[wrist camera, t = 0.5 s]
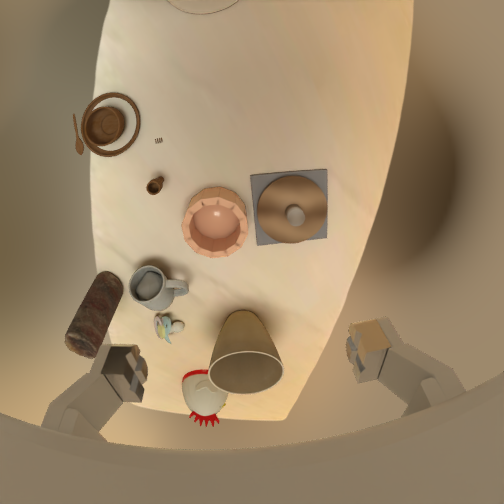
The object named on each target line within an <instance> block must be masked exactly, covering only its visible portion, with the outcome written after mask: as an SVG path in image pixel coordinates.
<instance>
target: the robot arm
mask: <svg viewBox="0 0 504 504" xmlns="http://www.w3.org/2000/svg"><path fill="white" fill-rule="evenodd" d="M167 1H169V2H170V3H171V4H172V5H173V6H175V7H176V8H178V9H180V10H182V11H185V12H188V13H194V14H207V13H213V12H217V11H220V10H223V9H225V8H228V7H229V6H231V5H233V4H234V3H235V2H237V1H238V0H167ZM348 331H349V334H350V336H349V337H348V339H347V342H346V351H347V356H348V359H349V362H350V363H352V364H353V365H354V367H353V372H354V375H355V378H356V380H357V383H362V382H367V381H371V380H376V379H378V381H379V382H381V383H382V384H383V385H384V386H386V387H387V388H388V389H389V390H391V391H392V392H393V393H394V394H395V395H397V396H398V397H399V398H400V399H402V400H403V401H404V402H405V403H407V404H408V407H407V408H406V410H405V411H404V413H403V415H402V416H401V418H399V419H396V420H393V421H389V422H386V423H383V424H380V425H376V426H373V427H369V428H366V429H362V430H358V431H354V432H350V433H345V434H341V435H336V436H332V437H327V438H322V439H316V440H311V441H305V442H298V443H292V444H285V445H276V446H267V447H256V448H242V449H220V450H187V449H165V448H151V447H141V446H131V445H124V444H116V443H110V442H107V440H106V439H105V438H104V437H103V436H102V435H101V434H100V433H99V431H100V430H101V428H102V427H103V426H104V425H105V424H106V423H107V421H108V420H109V419H110V418H111V417H112V415H113V414H114V413H115V412H116V411H117V409H118V408H119V407H120V406H121V405H122V404H123V402H142V398H143V394H144V388H143V386H142V384H143V383H144V382H146V381H147V376H148V367H147V364H146V361H145V359H144V358H143V357H141V356H140V355H139V354H140V349H139V347H138V346H137V345H135V344H102V345H101V346H100V348H99V351H98V353H97V355H96V358H95V360H94V363H93V365H92V368H91V370H90V373H86V374H85V375H84V376H82V377H81V378H80V379H79V380H77V381H76V382H75V383H74V384H73V385H71V386H70V387H69V388H68V389H67V390H65V391H64V392H63V393H62V394H61V395H59V396H58V397H57V398H56V399H55V400H53V401H52V402H51V403H50V405H49V407H48V409H47V412H46V415H45V417H44V420H43V423H42V425H41V427H40V426H36V425H33V424H30V423H27V422H24V421H21V420H18V419H16V418H13V417H10V416H8V415H5V414H2V413H0V504H504V371H503V372H502V373H500V374H498V375H497V376H495V377H493V378H491V379H489V380H487V381H486V382H484V383H482V384H480V385H478V386H476V387H474V388H472V389H470V390H468V391H466V390H465V389H464V387H463V385H462V383H461V382H460V380H459V378H458V377H457V375H456V373H455V372H454V370H453V368H451V367H449V366H447V365H445V364H444V363H442V362H440V361H438V360H436V359H434V358H433V357H431V356H429V355H427V354H426V353H424V352H422V351H420V350H418V349H416V348H415V347H413V346H411V345H409V344H404V343H403V341H402V340H401V338H400V336H399V335H398V333H397V331H396V330H395V328H394V326H393V325H392V323H391V321H390V320H389V318H388V317H386V316H385V317H381V318H376V319H371V320H366V321H361V322H356V323H351V324H350V326H349V330H348Z"/></svg>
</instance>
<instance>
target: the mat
mask: <svg viewBox="0 0 504 504" xmlns="http://www.w3.org/2000/svg"><path fill="white" fill-rule="evenodd" d="M287 176H300V177H304V178H307V179H309V180H311V181H313V182H314V183H315V184H316V185H317V186H318V187H319V188H320V189H321V190H322V192H323V193H324V195H325V198H326V201H328V194H327V169H319V170H304V171H290V172H278V173H267V174H257V175H250V177H251V187H252V196H253V206H254V216H255V226H256V236H257V246H259V245H268V244H277V243H282V242H279V241H276V240H274V239H272V238H271V237H269V236H268V235H267V234H266V233H265V232H264V231H263V229H262V228H261V226H260V224H259V220H258V215H257V206H258V201H259V199H260V196H261V194H262V193H263V191H264V190H265V189H266V188H267V187H268V186H269V185H270V184H271V183H272V182H274V181H276V180H278V179H280V178H283V177H287ZM323 238H327V215H326V219H325V222H324V224H323V225H322V227H321V228H320V230H319V231H318V232H317V233H316V234H315V235H313V236H312V237H311V238H309V239H307V240H314V239H323Z"/></svg>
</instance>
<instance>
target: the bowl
mask: <svg viewBox="0 0 504 504" xmlns="http://www.w3.org/2000/svg"><path fill="white" fill-rule="evenodd" d="M182 230H183V234H184V239H185V241H186V242H187V243H188V245H189V246H190V247H191V248H192V249H193V250H194V251H195V252H196V253H199V254H201V255H204V256H207V257H210V258H217V257H226V256H229V255H230V254H232V253H233V252H235V251H236V250H238V249H240V248H241V247H242V245H243V243H244V241H245V239H246V237H247V235H248V226H247V217H246V208H245V204H244V203H243V202H242V200H241V199H240V198H239V196H238V195H237V194H236V193H235V192H233V191H230V190H228V189H225V188H222V187H214V188H207V189H203V190H202V191H201V192H200V193H198V194H197V195H196V196H194V197H193V198H192V199H191V202H190V204H189V207H188V209H187V212H186V214H185V217H184V220H183V222H182Z"/></svg>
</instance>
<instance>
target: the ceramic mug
mask: <svg viewBox="0 0 504 504" xmlns="http://www.w3.org/2000/svg"><path fill="white" fill-rule="evenodd" d="M174 287H176V288H181V289H175V290H174V289H173V288H174ZM188 291H189V286H188V283H187V282H185V281H182V280H168V279H167V278H166V276H165V275H164V273H163V272H162V271H161V270H160V269H159V268H157V267H155V266H151V265H147V266H143V267H141V268H139V269H138V270H137V271H136V272H135V273H134V274H133V275H132V277H131V279H130V282H129V292H130V295H131V297H132V298H133V299H134V300H135V301H136V302H138V303H140V304H142V305H144V306H145V307H147V308H148V309H150V310H154V311H162V310H165V309H167V308H168V307H169V306H170V305H171V304H172V302H173V299H174V297H175V296H183V295H186V294H187V293H188Z"/></svg>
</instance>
